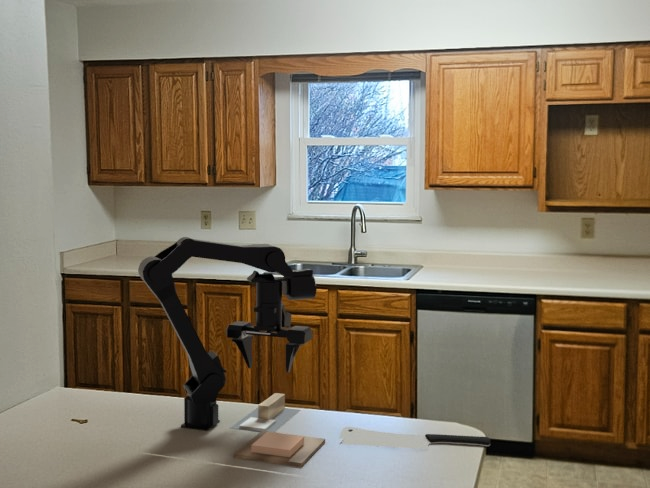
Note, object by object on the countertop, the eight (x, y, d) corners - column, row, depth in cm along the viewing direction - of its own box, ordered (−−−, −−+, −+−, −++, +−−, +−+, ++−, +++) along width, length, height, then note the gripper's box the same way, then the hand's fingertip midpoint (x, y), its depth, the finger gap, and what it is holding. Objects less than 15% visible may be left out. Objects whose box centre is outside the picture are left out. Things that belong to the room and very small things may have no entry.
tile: (267, 439, 160) (251, 452, 152) (267, 431, 159) (251, 444, 152) (304, 444, 157) (289, 458, 149) (304, 436, 157) (289, 450, 149)
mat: (229, 429, 168) (229, 427, 168) (260, 406, 184) (260, 405, 184) (272, 434, 165) (272, 433, 165) (300, 411, 181) (300, 409, 181)
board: (233, 458, 152) (233, 453, 151) (262, 435, 165) (262, 430, 165) (301, 468, 147) (301, 463, 147) (325, 443, 160) (325, 438, 160)
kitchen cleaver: (335, 444, 159) (342, 423, 168) (335, 452, 159) (341, 430, 169) (492, 455, 154) (489, 432, 164) (492, 463, 154) (489, 440, 164)
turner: (239, 428, 168) (239, 412, 168) (268, 406, 183) (268, 392, 183) (265, 431, 166) (265, 415, 166) (292, 409, 181) (292, 394, 181)
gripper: (320, 298, 178) (320, 365, 180) (245, 293, 184) (245, 358, 186) (303, 306, 168) (303, 377, 169) (224, 300, 174) (225, 369, 175)
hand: (268, 370), depth 175 cm, fingers open, 9 cm apart
